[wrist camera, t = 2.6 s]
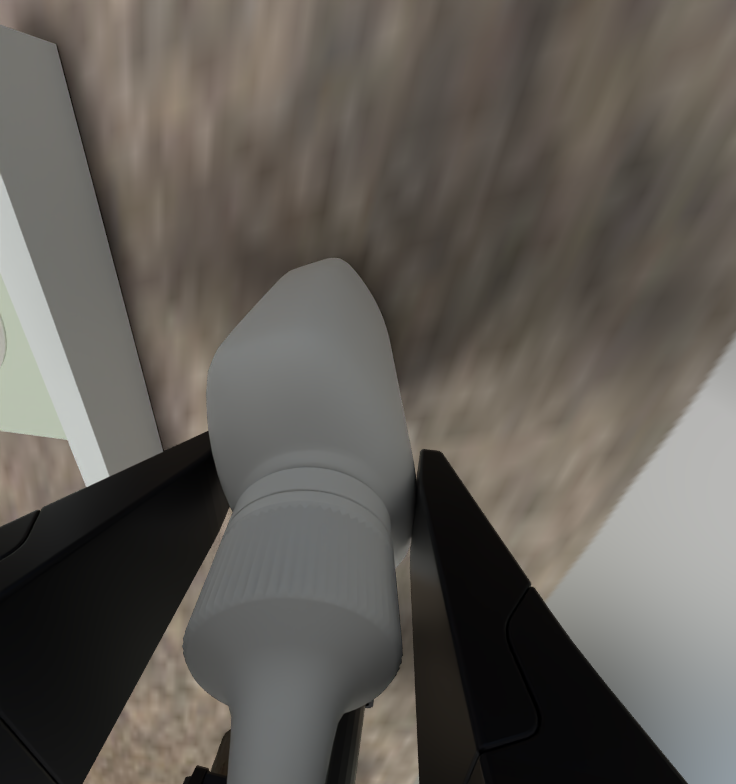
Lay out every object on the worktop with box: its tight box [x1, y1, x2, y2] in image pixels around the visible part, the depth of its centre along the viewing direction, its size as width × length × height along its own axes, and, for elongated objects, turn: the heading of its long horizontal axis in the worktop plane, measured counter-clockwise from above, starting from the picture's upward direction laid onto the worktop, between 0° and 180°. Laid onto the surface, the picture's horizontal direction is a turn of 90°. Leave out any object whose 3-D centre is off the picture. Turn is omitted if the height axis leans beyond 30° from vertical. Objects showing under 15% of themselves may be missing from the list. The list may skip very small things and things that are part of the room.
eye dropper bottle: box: [182, 258, 417, 784], centre depth 8 cm, size 4×6×12 cm
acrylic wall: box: [0, 25, 163, 487], centre depth 14 cm, size 16×1×3 cm, turn 178°
